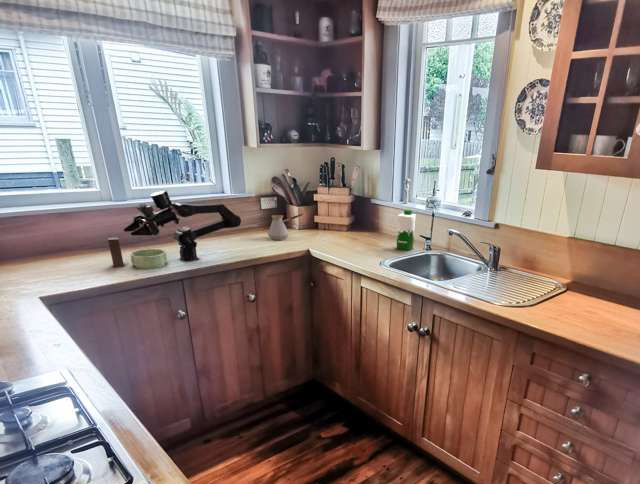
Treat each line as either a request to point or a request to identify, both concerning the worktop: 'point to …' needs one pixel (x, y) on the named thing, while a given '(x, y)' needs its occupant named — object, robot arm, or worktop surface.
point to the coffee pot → (279, 227)
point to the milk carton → (405, 230)
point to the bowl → (148, 258)
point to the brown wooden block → (115, 252)
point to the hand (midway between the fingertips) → (127, 232)
